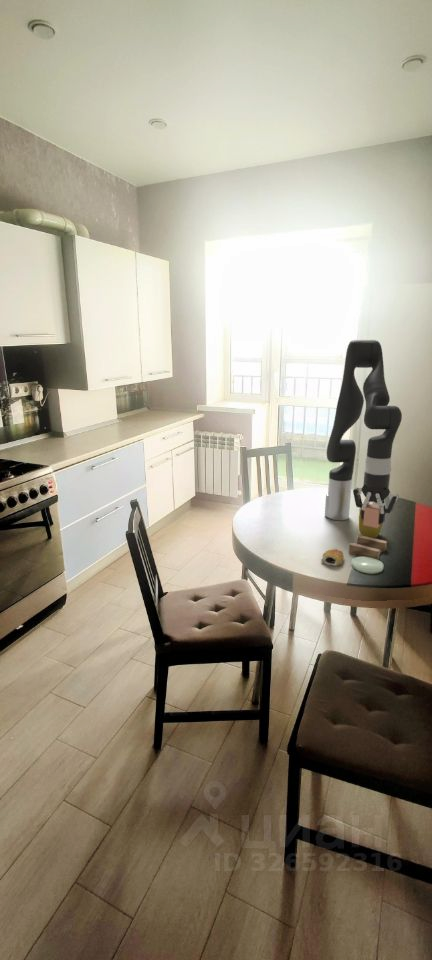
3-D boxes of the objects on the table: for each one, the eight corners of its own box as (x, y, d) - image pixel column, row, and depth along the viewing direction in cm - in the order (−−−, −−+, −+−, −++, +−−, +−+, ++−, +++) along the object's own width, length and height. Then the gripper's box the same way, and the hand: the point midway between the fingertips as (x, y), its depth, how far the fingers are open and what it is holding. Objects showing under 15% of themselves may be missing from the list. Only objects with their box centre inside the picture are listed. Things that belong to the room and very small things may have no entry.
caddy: (348, 552, 156) (349, 544, 155) (358, 542, 163) (359, 534, 162) (377, 560, 150) (378, 551, 149) (386, 549, 158) (387, 541, 157)
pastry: (328, 552, 156) (328, 543, 155) (347, 557, 153) (348, 547, 152) (320, 563, 149) (320, 553, 148) (340, 568, 145) (341, 558, 144)
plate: (347, 567, 145) (347, 565, 145) (357, 556, 153) (357, 553, 153) (377, 576, 140) (378, 574, 139) (387, 564, 147) (387, 561, 147)
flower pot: (381, 532, 172) (383, 510, 170) (381, 541, 164) (383, 518, 162) (357, 529, 175) (359, 508, 172) (356, 538, 167) (358, 516, 165)
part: (363, 525, 141) (364, 507, 140) (367, 520, 145) (369, 503, 143) (377, 528, 139) (378, 510, 137) (381, 523, 142) (383, 506, 140)
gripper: (350, 469, 138) (346, 521, 143) (398, 477, 130) (392, 530, 135) (358, 464, 144) (354, 514, 148) (404, 471, 136) (398, 523, 140)
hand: (372, 521), depth 141 cm, fingers closed on part, 4 cm apart
